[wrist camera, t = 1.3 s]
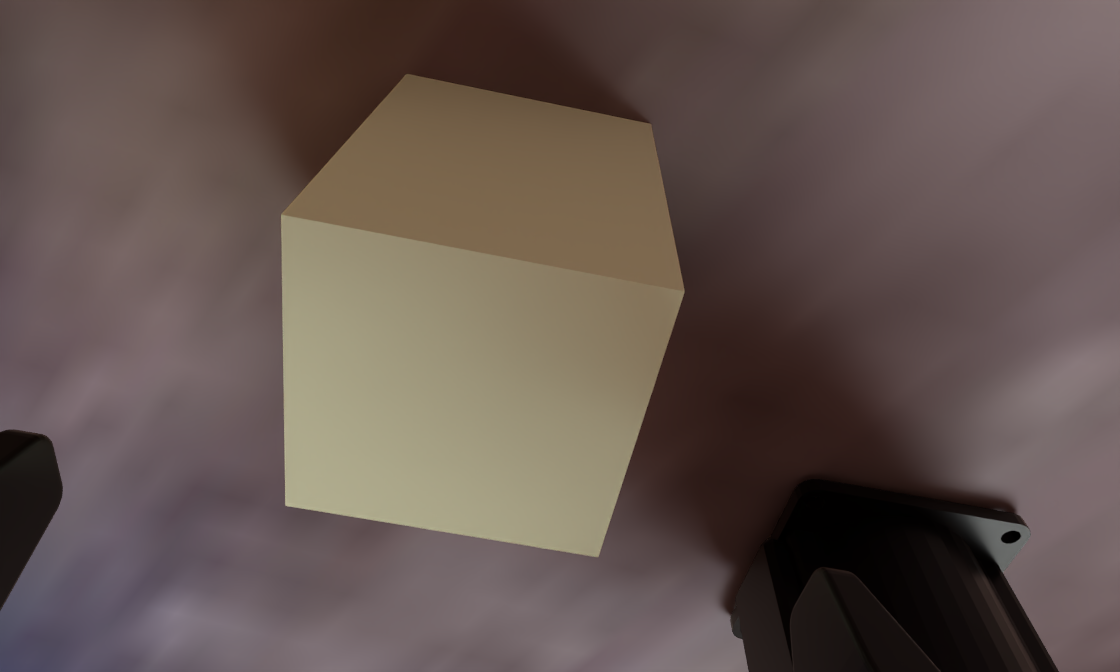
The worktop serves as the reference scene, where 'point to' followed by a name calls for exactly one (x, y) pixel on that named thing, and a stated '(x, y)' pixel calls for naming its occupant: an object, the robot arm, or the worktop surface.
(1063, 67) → the worktop surface
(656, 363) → the beige block
